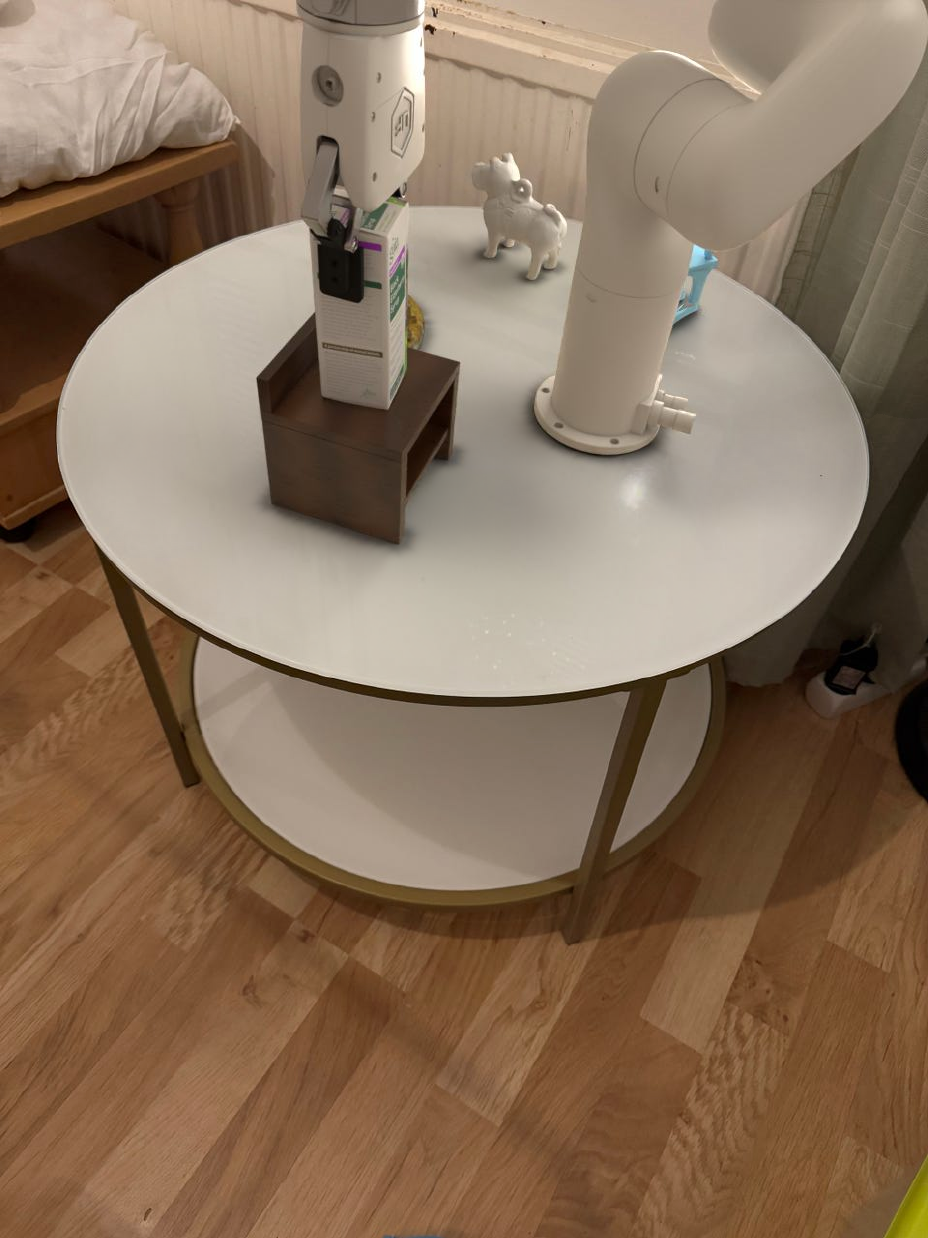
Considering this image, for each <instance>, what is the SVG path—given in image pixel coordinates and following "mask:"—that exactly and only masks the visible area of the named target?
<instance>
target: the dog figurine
mask: <svg viewBox="0 0 928 1238" xmlns="http://www.w3.org/2000/svg"><path fill="white" fill-rule="evenodd" d="M471 181H472V185H473V187H474V188H475V189H476V190H478V191H480V192H481V191H482V192H486V194H487V199H486V200H485V201H484V203H483V207H482V211H483V213H482V215H483V221H484V225H485V228H486V230H487V238H488V239H487V246H486V250H485V251H484V252H483V256H484V257H485V258H487V259H493V258H495V257H496V255H497V253H498V252H499V251H498V246H499V244H500V243H501V240H502V238H503V237H504V239H503V242H502V246H504V247H506V248H511V247H514V246H515V242H517V243H519V244H521V245H524V246H526V247H527V248H528V249H530V253H531V257H530V258H531V259H530V264H529V268H528V271H527V273H526V274H525V279H527V280H529V281H534V280H536V279H537V278H538V276H539V274H540V271H541V267H542V266H543V268H544V269H546V270H553V269H555V268H556V267H557V264H558V260H559V254H560V251H561V249H562V241H563V240H564V238H565V237H566V234H567V231H568V224H567V221H566V219H565V218H564V216H563V215H562V213H561V212H560V211H559V210H557V208H556V207H555V206H554V205H553V204H551V203H546V204H545V205H543V204H541V203H540V202H538V201H536V200H535V198H533V197H532V194H533V186H532V183H531V182H530V181H529V179H527V178H521V175H520V170H519V168H518V165H517V164H516V163H515V160H514V156H513V155H512V153H511V152H505V153H503V154H501V160H500V159H499V157H497V156H492V157H491V158H490V159H489V163H484V162H482V161H478V162H476V163H474V165H473V168H472V171H471ZM547 254H548V259H547V261H546V262H545V263H544V264H543V262H544V261H545V257H546V256H547ZM542 264H543V265H542Z"/></svg>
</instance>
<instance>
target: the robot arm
mask: <svg viewBox="0 0 928 1238" xmlns="http://www.w3.org/2000/svg"><path fill="white" fill-rule="evenodd" d="M295 3H296V14H297V15H298V16H299V17H300V18H301V19H302V20H303V23H302V33H301V48H300V49H301V50H300V51H301V52H300V88H299V92H300V93H299V96H300V98H299V104H300V105H299V109H300V110H299V111H300V112H299V113H300V114H299V119H300V121H299V122H300V123H299V125H300V148H301V149H300V150H301V162H302V173H303V180H304V186H305V189H306V191H305V194H304V197H303V200H302V204H301V208H300V217H301V220H302V221H303V222H304V223H305V224H306V226H307V227H308V229H309V228H310V232H311V233H312V234H313V239H314V242H315V243H317V250H318V271H319V289H320V291H321V292H322V293H323V294H325V295H328V296H332V297H336V298H339V299H343V300H347V301H350V302H354V303H360V302H361V301H362V299H363V298H364V247H362V246H358V241H359V234H360V228H361V221H362V215H363V210H364V211H367V212H372V211H374V210H375V209H377V208H378V207H380V206H381V205H382V204H383V203H384V202H385V201H386V200H387V199H388V198H389V197H390V196H391V197H395V198H399V199H404V198H406V195H407V193H408V187H409V184H408V178H409V177H410V176H411V175H412V174H413V173H414V172H415V170H416V169H417V168H418V167H419V165H420V164H421V162H422V160H423V158H424V154H425V147H426V146H425V143H426V64H425V63H426V60H425V59H426V58H425V39H424V29H423V28H424V27H423V23H424V22H425V17H426V16H425V15H426V14H425V13H426V0H295ZM707 39H708V42H709V43H708V44H709V47H710V49H711V52H712V54H713V56H714V57H715V59H716V60H717V62H718V63H719V64H720V65H721V66H722V67H723V69H725V70H726V71H727V72H728V73H729V74H731V75H732V77H734V78H735V79H736V80H738V81H739V82H741V83H742V84H743V85H745V86H746V87H747V88H749V89H751V90H752V91H754V92H755V93H756V94H759V96H758V97H756V99H753V98H751V97H749V96H748V95H747V94H745V93H743V92H741V91H740V90H738V89H737V88H735V87H734V86H733V85H732V84H730V83H729V82H727V81H726V80H725V79H723V78H721V77H720V76H719V75H717V74H715V73H713V72H711V71H710V70H709V69H707V68H705V67H704V66H702V65H700V64H699V63H698V62H696V61H694V60H691V59H690V58H688V57H686V56H684V55H681V54H679V53H675V52H672V51H667V50H647V51H643V52H640V53H637V54H635V55H632V56H630V57H629V58H627V59H626V60H625V59H624V61H622V62H621V63H620V64H619V65H618V66H616V67H615V68H614V69H613V70H612V71H611V73H609V74H608V76H607V77H606V78H605V80H604V82H603V83H602V85H601V87H600V89H599V90H598V91H597V92H598V93H597V94H596V97H595V99H594V102H593V105H592V108H591V111H590V112H591V113H590V115H589V121H588V126H587V135H586V161H585V162H586V163H585V165H586V166H585V167H586V173H585V174H586V187H585V189H586V190H585V200H584V201H585V202H584V212H583V220H582V227H581V233H580V239H579V245H578V251H577V255H576V260H575V264H574V270H573V276H572V281H571V287H570V292H569V298H568V304H567V308H566V314H565V320H564V325H563V331H562V335H561V341H560V348H559V352H558V357H557V363H556V368H555V373H554V374H553V375H550V376H549V377H547V378H545V380H544V381H543V382H541V384H540V385H539V386H538V387H537V390H536V393H535V394H534V395H535V396H534V402H533V412H534V415H535V418H536V420H537V422H538V423H539V425H540V426H541V428H542V429H543V430H544V431H545V432H546V433H547V434H548V435H549V436H551V437H552V438H553V439H555V440H556V441H558V442H559V443H561V444H563V445H565V446H567V447H569V448H572V449H575V450H577V451H580V452H584V453H589V454H593V455H604V456H605V455H606V456H608V455H623V454H629V453H631V452H635V451H638V450H640V449H642V448H644V447H646V446H647V445H649V444H650V443H651V442H652V441H653V440H654V439H655V438H656V436H657V435H658V433H659V430H660V428H661V426H662V427H666V428H669V429H671V430H673V431H676V432H681V433H684V434H687V435H690V434H691V432H692V430H693V426H694V423H695V420H696V417H697V413H692V412H688V411H686V410H685V409H686V406H687V403H688V400H689V399H688V398H685V397H681V396H678V395H672V394H667V393H665V392H666V391H665V390H664V389H660V386H661V385H662V384H661V383H662V380H663V377H664V375H663V374H661V373H659V372H660V370H661V367H662V363H663V360H664V356H665V352H666V350H667V345H668V343H669V339H670V335H671V332H672V329H673V325H674V324H673V322H674V318H675V315H676V311H677V308H679V304H680V301H681V300H680V297H681V294H682V290H683V287H684V286H685V283H686V281H687V278H688V276H687V274H688V271H689V267H690V263H691V258H692V253H693V247H694V244H695V245H696V246H698V247H700V248H702V249H704V250H705V249H706V250H709V251H713V252H718V253H719V252H720V253H721V252H728V251H733V250H735V249H738V248H741V247H743V246H745V245H747V244H749V243H751V242H752V241H754V240H755V239H756V238H758V237H759V236H761V235H762V234H763V233H764V232H766V231H768V229H769V228H771V227H772V226H773V225H774V224H775V223H776V222H778V221H779V220H780V219H781V218H782V217H783V216H785V214H786V213H788V211H790V210H791V209H792V208H793V207H794V206H795V205H796V204H797V203H798V202H800V200H801V199H803V197H805V196H806V195H807V194H808V193H809V192H810V191H811V190H813V188H814V187H816V186H817V185H818V184H819V183H820V182H821V181H822V180H823V179H824V178H825V177H827V175H829V174H830V173H831V172H832V171H833V170H834V169H835V168H836V167H837V166H838V165H839V164H840V163H841V162H842V161H844V159H846V158H847V157H848V156H849V155H850V154H851V153H852V152H853V151H854V150H855V149H856V148H858V146H859V145H860V144H862V142H864V141H865V140H866V139H867V138H868V137H869V136H870V135H871V134H872V133H873V132H874V131H875V130H876V129H877V128H878V127H879V126H880V125H881V124H882V123H883V122H884V121H885V120H886V118H887V117H888V116H889V115H890V114H891V112H892V111H893V110H894V109H895V108H896V106H897V105H898V104H899V102H900V101H901V100H902V98H903V97H904V96H905V94H906V92H907V90H908V89H909V88H910V85H911V84H912V82H913V80H914V78H915V76H916V74H917V72H918V70H919V67H920V65H921V64H922V61H923V58H924V55H925V52H926V49H927V45H928V11H927V8H926V5H925V2H924V1H923V0H715V1H714V3H713V6H712V8H711V11H710V15H709V19H708V25H707ZM337 186H340V187H343V188H344V190H346V191H347V194H348V196H349V198H348V197H344V196H341V195H337V194H334V190H335V188H336V187H337ZM332 205H336V206H340V207H344V208H347V209H349V212H348V219H347V226H346V228H345V227H344V225H343V224H342V223H341V222H340V221H339V220H338V219H334V218H333V217H332V215H333V214H332V213H331V210H332Z"/></svg>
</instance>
